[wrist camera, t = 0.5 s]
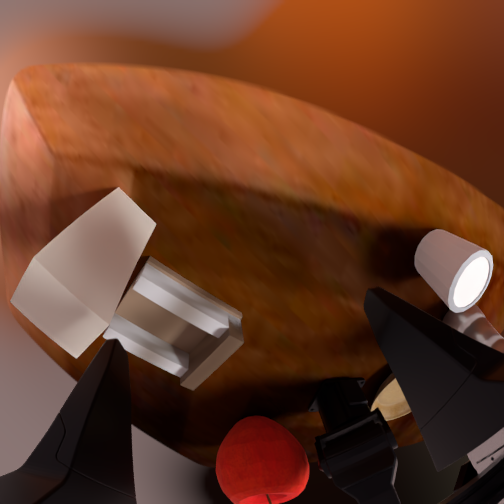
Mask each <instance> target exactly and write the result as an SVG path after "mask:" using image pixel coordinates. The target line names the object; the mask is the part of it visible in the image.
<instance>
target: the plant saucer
mask: <svg viewBox="0 0 504 504" xmlns="http://www.w3.org/2000/svg"><path fill="white" fill-rule="evenodd" d="M377 407H378V408H379V409H380V411H381V413H382V415H383V417H384V418H385V420H386V421H387V420H392V419H395V418H398V417H401V416H403V415H406V414H408V413H410V412H411V409H410V407H409V405H408V403H407V401H406V399H405V397H404V394H403V392H402V390H401V388H400V386H399V384H398V382H397V380H396V378H395V376H394V374H393V373H392V374H390V375H389V376H388V377H387V378H386V380H385V381H384V382H383V383H382V384H381V386H380V387H379V389H378V391H377V393H376V395H375V398H374V400H373V403H372V407H371V411H373V410H375V409H376V408H377Z"/></svg>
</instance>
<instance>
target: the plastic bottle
mask: <svg viewBox="0 0 504 504" xmlns="http://www.w3.org/2000/svg"><path fill="white" fill-rule="evenodd" d="M442 322H444V323H445V324H447V325H449V326H451V327H452V328H454V329H456V330H458V331H460V332H461V333H463V334H465V335H467V336H469V337H471V338H473V339H475V340H477V341H479V342H481V343H483V344H485V345H487V346H489V347H491V348H493V349H496V350H498V351H500V352H502V353H504V339H503V337H502V336H501V335H500V334H499V333H498V332H497V331H496V330H495V329H494V327H493V326H492V325H491V324H490V323H489V322H488V320H487V319H486V318H485V316H484V314H483V313H482V311H481V310H480V309H479V308H478V307H477V306H476V305H473V306H472V307H470V308H469V309H467V310H465V311H464V312H459V313H455V312H453V311H452V310H450V309H449V311H448V312H447V313H446V315H445V316H444V318H443V321H442Z"/></svg>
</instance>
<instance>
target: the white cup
mask: <svg viewBox="0 0 504 504" xmlns="http://www.w3.org/2000/svg"><path fill="white" fill-rule="evenodd" d="M414 265H415V267H416V270H417V272H418V273H419V274H420V275H421V276H422V277H423V278H424V279H425V281H426V282H427V283H428V284H429V285H430V286H431V287H432V289H433V290H434V291H435V292H436V293H437V294H438V296H439V297H440V298H441V299H442V300H443V301H444V303H445V304H446V305H447V306H448V307H449V309H450V310H452V311H453V312H455V313H459V312H464V311H465V310H467V309H469V308H470V307H472V306H473V305H474V304H475V303H476V302H477V301H478V300H479V299H480V297H481V296H482V294H483V293H484V291H485V290H486V288H487V286H488V283H489V281H490V278H491V275H492V269H493V260H492V256H491V254H490V253H489V252H488V251H487V250H485V249H483V248H481V247H479V246H477V245H475V244H473V243H471V242H469V241H466V240H464V239H462V238H460V237H458V236H456V235H453V234H451V233H449V232H447V231H444V230H440V229H436V230H433V231H431V232H429V233H428V234H427V235H426V236H425V237H424V238H423V239H422V240H421V242H420V244H419V245H418V247H417V250H416V253H415V262H414Z"/></svg>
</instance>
